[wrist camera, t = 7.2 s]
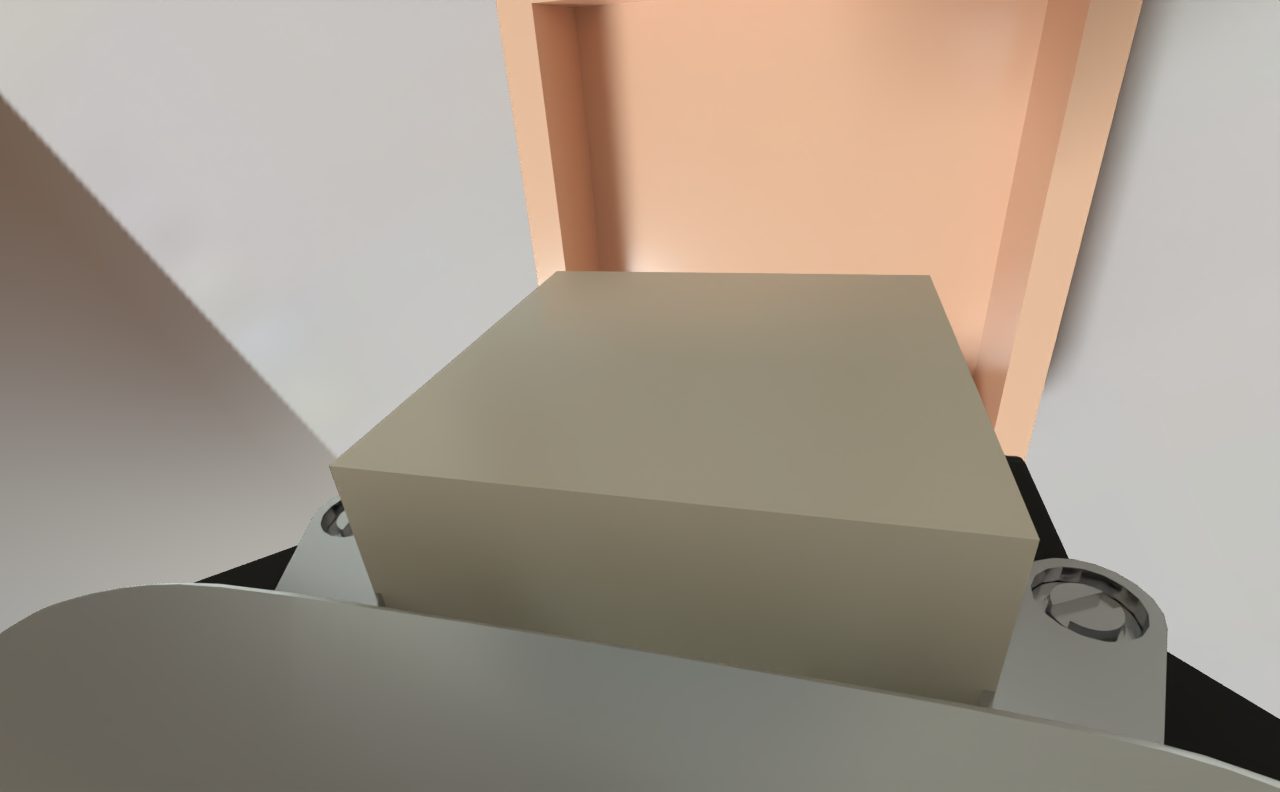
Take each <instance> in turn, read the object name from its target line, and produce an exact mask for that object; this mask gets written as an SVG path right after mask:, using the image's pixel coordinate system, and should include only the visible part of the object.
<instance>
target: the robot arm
mask: <svg viewBox="0 0 1280 792" xmlns="http://www.w3.org/2000/svg"><path fill="white" fill-rule="evenodd" d="M1005 457H1006V460H1007V462H1008V465H1009V467H1010V469H1011V472H1012V474H1013V477H1014V479H1015V481H1016V484H1017V486H1018V489H1019V491H1020V493H1021V496H1022V498H1023V501H1024V503H1025V506H1026V508H1027V510H1028V513H1029V515H1030V518H1031V520H1032V522H1033V525H1034V527H1035V530H1036V532H1037V534H1038V537H1039V539H1040V541H1039V544H1038V548H1037V551H1036V554H1035V558H1034V561H1033V565H1032V568H1031V572H1030V575H1029V579H1028V582H1027V585H1026V589H1025V592H1024V596H1023V599H1022V603H1021V606H1020V610H1019V613H1018V616H1017V620H1016V623H1015V627H1014V630H1013V634H1012V637H1011V641H1010V644H1009V647H1008V651H1007V654H1006V658H1005V661H1004V665H1003V668H1002V672H1001V675H1000V679H999V682H998V685H997V689H996V692H995V691H988V690H983V693H982V696H981V700H980V703H979V706H974V705H969V704H963V703H957V702H952V701H946V700H940V699H935V698H929V697H923V696H918V695H912V694H906V693H900V692H894V691H889V690H883V689H877V688H871V687H865V686H859V685H853V684H848V683H842V682H836V681H830V680H824V679H818V678H812V677H806V676H801V675H795V674H789V673H783V672H777V671H771V670H765V669H760V668H754V667H748V666H742V665H736V664H730V663H724V662H718V661H713V660H707V659H701V658H695V657H689V656H682V655H676V654H670V653H664V652H658V651H652V650H646V649H640V648H634V647H628V646H622V645H616V644H610V643H604V642H598V641H592V640H586V639H580V638H574V637H567V636H561V635H555V634H549V633H543V632H537V631H531V630H525V629H519V628H512V627H506V626H500V625H494V624H487V623H481V622H475V621H468V620H462V619H456V618H450V617H443V616H437V615H431V614H424V613H418V612H412V611H405V610H399V609H393V608H386V605H385V602H384V600H383V597H382V594H381V593H375V592H374V590H373V587H372V585H371V582H370V579H369V576H368V573H367V571H366V568H365V565H364V562H363V560H362V557H361V554H360V551H359V548H358V546H357V543H356V540H355V537H354V534H353V532H352V529H351V526H350V523H349V521H348V518H347V515H346V512H345V509H344V507H343V504H342V501H341V498H340V496H337V497H335V498H333V499H331V500H330V501H328V502H327V503H326V504H325V505H324V506H322V507H321V508H320V509H319V510H318V511H317V512H316V514H315V515H314V516H313V518H312V519H311V521H310V523H309V525H308V527H307V529H306V531H305V533H304V535H303V537H302V539H301V540H300V542H299V544H298V545H297V546H295V547H292V548H289V549H286V550H283V551H281V552H278V553H275V554H272V555H270V556H267V557H264V558H261V559H258V560H256V561H253V562H250V563H247V564H245V565H242V566H239V567H236V568H233V569H231V570H228V571H226V572H222V573H220V574H217V575H214V576H211V577H209V578H206V579H203V580H200V581H197V582H195V583H165V584H164V583H163V584H146V585H136V586H130V587H124V588H118V589H112V590H106V591H100V592H96V593H92V594H88V595H84V596H80V597H76V598H73V599H70V600H66V601H63V602H60V603H56V604H53V605H51V606H48V607H46V608H43V609H41V610H39V611H37V612H35V613H33V614H31V615H30V616H28V617H26V618H25V619H23V620H21V621H19V622H18V623H16V624H14V625H13V626H11V627H9V628H8V629H6V630H5V631H3V632H2V633H0V792H1280V719H1279V718H1277V717H1275V716H1274V715H1272V714H1270V713H1269V712H1267V711H1265V710H1264V709H1262V708H1260V707H1259V706H1257V705H1255V704H1254V703H1252V702H1250V701H1249V700H1247V699H1245V698H1244V697H1242V696H1240V695H1239V694H1237V693H1235V692H1234V691H1232V690H1230V689H1229V688H1227V687H1225V686H1224V685H1222V684H1220V683H1219V682H1217V681H1215V680H1214V679H1212V678H1210V677H1209V676H1207V675H1205V674H1204V673H1202V672H1200V671H1199V670H1197V669H1195V668H1194V667H1192V666H1190V665H1189V664H1187V663H1185V662H1184V661H1182V660H1180V659H1179V658H1177V657H1175V656H1174V655H1172V654H1170V653H1169V652H1167V633H1168V629H1167V625H1166V620H1165V616H1164V614H1163V612H1162V611H1161V609H1160V608H1159V606H1158V605H1157V604H1156V602H1155V601H1154V599H1153V598H1152V597H1150V596H1149V595H1148V594H1147V593H1146V592H1145V591H1143V590H1142V589H1141V588H1140V587H1139V586H1138V585H1136V584H1135V583H1133V582H1131V581H1130V580H1128V579H1126V578H1124V577H1123V576H1121V575H1119V574H1118V573H1116V572H1113V571H1111V570H1108V569H1106V568H1103V567H1101V566H1098V565H1096V564H1092V563H1088V562H1083V561H1079V560H1075V559H1069V558H1068V556H1067V554H1066V552H1065V549H1064V547H1063V545H1062V543H1061V541H1060V538H1059V536H1058V534H1057V532H1056V530H1055V527H1054V525H1053V523H1052V521H1051V519H1050V516H1049V514H1048V512H1047V510H1046V508H1045V505H1044V503H1043V501H1042V499H1041V497H1040V495H1039V492H1038V490H1037V488H1036V486H1035V484H1034V481H1033V479H1032V477H1031V475H1030V473H1029V470H1028V468H1027V466H1026V464H1025V462H1024V461H1023V459H1022V458H1021V457H1018V456H1008V455H1005Z"/></svg>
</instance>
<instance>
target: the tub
mask: <svg viewBox="0 0 1280 792" xmlns="http://www.w3.org/2000/svg"><path fill="white" fill-rule="evenodd" d="M1142 2H1143V0H496V5H497V12H498V19H499V25H500V32H501V39H502V45H503V52H504V59H505V65H506V72H507V79H508V85H509V92H510V99H511V105H512V112H513V119H514V125H515V132H516V139H517V145H518V152H519V159H520V165H521V172H522V179H523V185H524V192H525V199H526V205H527V212H528V219H529V225H530V232H531V239H532V245H533V252H534V259H535V265H536V272H537V279H538V285H539V286H540V285H541V284H542V283H543V282H545V281H546V280H547V279H548V278H549V277H550V276H552V275H553V274H554V273H555V272H556V271H610V272H698V273H786V274H874V275H930V277H931V279H932V281H933V284H934V286H935V289H936V291H937V293H938V296H939V298H940V301H941V303H942V306H943V308H944V310H945V313H946V315H947V318H948V320H949V322H950V325H951V327H952V330H953V332H954V334H955V337H956V339H957V342H958V344H959V346H960V349H961V351H962V354H963V356H964V359H965V361H966V363H967V366H968V368H969V371H970V373H971V375H972V378H973V380H974V383H975V385H976V387H977V390H978V392H979V395H980V397H981V399H982V402H983V404H984V407H985V409H986V412H987V414H988V416H989V419H990V421H991V424H992V426H993V428H994V431H995V433H996V436H997V438H998V440H999V443H1000V445H1001V448H1002V450H1003V452H1004V455H1008V456H1018V457H1021V458H1022V459H1023V461H1024V462H1025V458H1026V454H1027V451H1028V447H1029V443H1030V439H1031V435H1032V431H1033V427H1034V423H1035V419H1036V415H1037V412H1038V408H1039V404H1040V400H1041V396H1042V392H1043V388H1044V384H1045V380H1046V376H1047V373H1048V369H1049V365H1050V361H1051V357H1052V353H1053V349H1054V345H1055V341H1056V338H1057V334H1058V330H1059V326H1060V322H1061V318H1062V314H1063V310H1064V306H1065V302H1066V299H1067V295H1068V291H1069V287H1070V283H1071V279H1072V275H1073V271H1074V267H1075V263H1076V260H1077V256H1078V252H1079V248H1080V244H1081V240H1082V236H1083V232H1084V228H1085V225H1086V221H1087V217H1088V213H1089V209H1090V205H1091V201H1092V197H1093V193H1094V189H1095V186H1096V182H1097V178H1098V174H1099V170H1100V166H1101V162H1102V158H1103V154H1104V150H1105V147H1106V143H1107V139H1108V135H1109V131H1110V127H1111V123H1112V119H1113V115H1114V111H1115V108H1116V104H1117V100H1118V96H1119V92H1120V88H1121V84H1122V80H1123V76H1124V73H1125V69H1126V65H1127V61H1128V57H1129V53H1130V49H1131V45H1132V41H1133V37H1134V34H1135V30H1136V26H1137V22H1138V18H1139V14H1140V10H1141V6H1142Z"/></svg>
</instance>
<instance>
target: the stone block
mask: <svg viewBox="0 0 1280 792" xmlns="http://www.w3.org/2000/svg"><path fill="white" fill-rule="evenodd" d="M329 468H330V470H331V473H332V476H333V479H334V481H335V484H336V487H337V490H338V492H339V496H340V498H341V501H342V504H343V507H344V509H345V512H346V515H347V518H348V521H349V523H350V526H351V529H352V532H353V534H354V537H355V540H356V543H357V546H358V548H359V551H360V554H361V557H362V560H363V562H364V565H365V568H366V571H367V573H368V576H369V579H370V582H371V585H372V587H373V590H374V592H375V593H381V594H382V597H383V600H384V602H385V605H386V608H393V609H399V610H405V611H412V612H418V613H424V614H431V615H437V616H443V617H450V618H456V619H462V620H468V621H475V622H481V623H487V624H494V625H500V626H506V627H512V628H519V629H525V630H531V631H537V632H543V633H549V634H555V635H561V636H567V637H574V638H580V639H586V640H592V641H598V642H604V643H610V644H616V645H622V646H628V647H634V648H640V649H646V650H652V651H658V652H664V653H670V654H676V655H682V656H689V657H695V658H701V659H707V660H713V661H718V662H724V663H730V664H736V665H742V666H748V667H754V668H760V669H765V670H771V671H777V672H783V673H789V674H795V675H801V676H806V677H812V678H818V679H824V680H830V681H836V682H842V683H848V684H853V685H859V686H865V687H871V688H877V689H883V690H889V691H894V692H900V693H906V694H912V695H918V696H923V697H929V698H935V699H940V700H946V701H952V702H957V703H963V704H969V705H974V706H979V703H980V700H981V696H982V693H983V690H988V691H995V692H996V689H997V685H998V682H999V679H1000V675H1001V672H1002V668H1003V665H1004V661H1005V658H1006V654H1007V651H1008V647H1009V644H1010V641H1011V637H1012V634H1013V630H1014V627H1015V623H1016V620H1017V616H1018V613H1019V610H1020V606H1021V603H1022V599H1023V596H1024V592H1025V589H1026V585H1027V582H1028V579H1029V575H1030V572H1031V568H1032V565H1033V561H1034V558H1035V554H1036V551H1037V548H1038V544H1039V541H1040V539H1039V537H1038V534H1037V532H1036V530H1035V527H1034V525H1033V522H1032V520H1031V518H1030V515H1029V513H1028V510H1027V508H1026V506H1025V503H1024V501H1023V498H1022V496H1021V493H1020V491H1019V489H1018V486H1017V484H1016V481H1015V479H1014V477H1013V474H1012V472H1011V469H1010V467H1009V465H1008V462H1007V460H1006V457H1005V455H1004V452H1003V450H1002V448H1001V445H1000V443H999V440H998V438H997V436H996V433H995V431H994V428H993V426H992V424H991V421H990V419H989V416H988V414H987V412H986V409H985V407H984V404H983V402H982V399H981V397H980V395H979V392H978V390H977V387H976V385H975V383H974V380H973V378H972V375H971V373H970V371H969V368H968V366H967V363H966V361H965V359H964V356H963V354H962V351H961V349H960V346H959V344H958V342H957V339H956V337H955V334H954V332H953V330H952V327H951V325H950V322H949V320H948V318H947V315H946V313H945V310H944V308H943V306H942V303H941V301H940V298H939V296H938V293H937V291H936V289H935V286H934V284H933V281H932V279H931V277H930V275H874V274H786V273H698V272H610V271H556V272H555V273H554V274H553V275H552V276H550V277H549V278H548V279H547V280H546V281H545V282H543V283H542V284H541V285H540V286H539V287H538V288H536V289H535V290H534V291H533V292H532V293H531V294H529V295H528V296H527V297H526V298H525V299H523V300H522V301H521V302H520V303H519V304H518V305H516V306H515V307H514V308H513V309H512V310H511V311H509V312H508V313H507V314H506V315H505V316H504V317H502V318H501V319H500V320H499V321H498V322H497V323H495V324H494V325H493V326H492V327H491V328H490V329H488V330H487V331H486V332H485V333H484V334H483V335H481V336H480V337H479V338H478V339H477V340H476V341H474V342H473V343H472V344H471V345H470V346H468V347H467V348H466V349H465V350H464V351H463V352H461V353H460V354H459V355H458V356H457V357H456V358H454V359H453V360H452V361H451V362H450V363H449V364H447V365H446V366H445V367H444V368H443V369H442V370H440V371H439V372H438V373H437V374H436V375H435V376H433V377H432V378H431V379H430V380H429V381H428V382H426V383H425V384H424V385H423V386H422V387H421V388H419V389H418V390H417V391H416V392H415V393H414V394H412V395H411V396H410V397H409V398H408V399H406V400H405V401H404V402H403V403H402V404H401V405H399V406H398V407H397V408H396V409H395V410H394V411H392V412H391V413H390V414H389V415H388V416H387V417H385V418H384V419H383V420H382V421H381V422H380V423H378V424H377V425H376V426H375V427H374V428H373V429H371V430H370V431H369V432H368V433H367V434H366V435H364V436H363V437H362V438H361V439H360V440H359V441H357V442H356V443H355V444H354V445H353V446H352V447H350V448H349V449H348V450H347V451H346V452H344V453H343V454H342V455H341V456H340V457H339V458H337V459H336V460H335V461H334V462H333V463H332V464H331V465H329Z"/></svg>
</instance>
